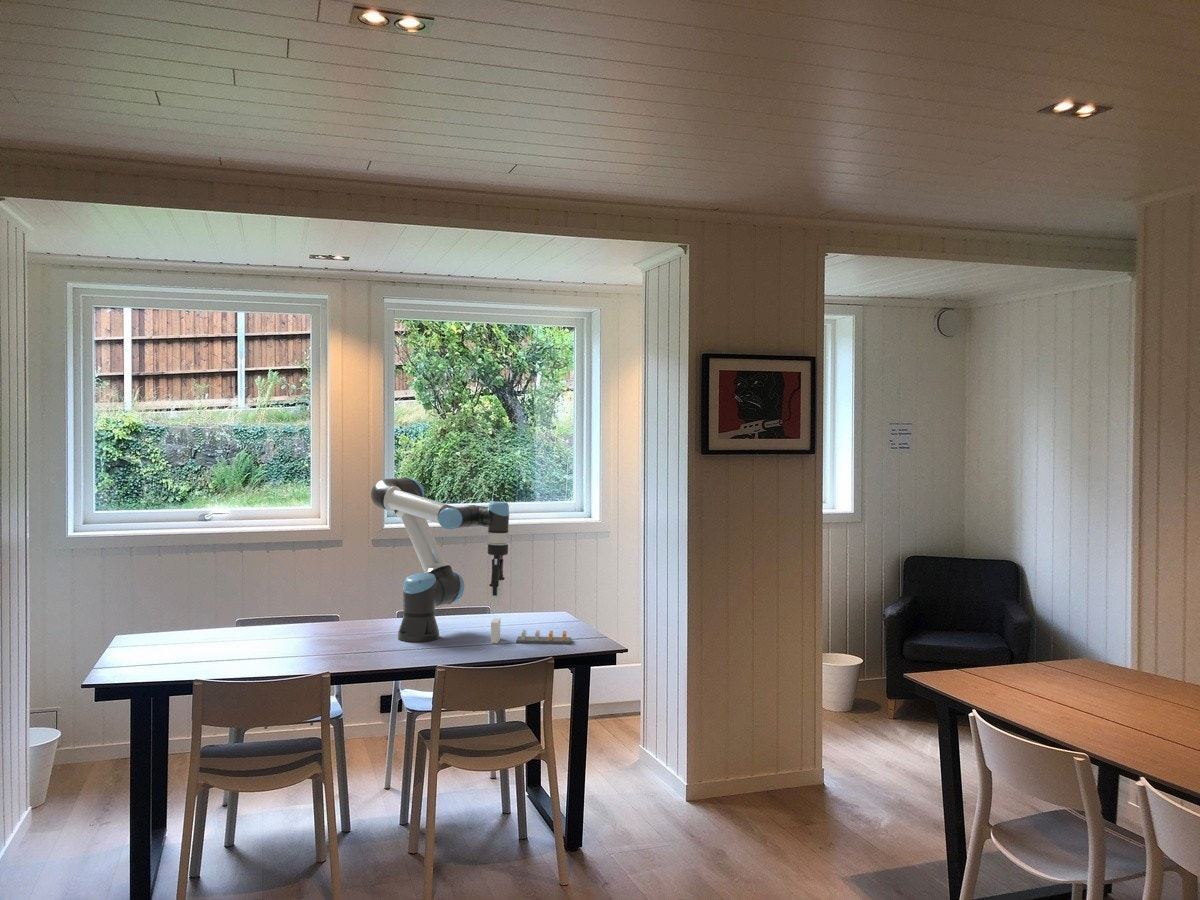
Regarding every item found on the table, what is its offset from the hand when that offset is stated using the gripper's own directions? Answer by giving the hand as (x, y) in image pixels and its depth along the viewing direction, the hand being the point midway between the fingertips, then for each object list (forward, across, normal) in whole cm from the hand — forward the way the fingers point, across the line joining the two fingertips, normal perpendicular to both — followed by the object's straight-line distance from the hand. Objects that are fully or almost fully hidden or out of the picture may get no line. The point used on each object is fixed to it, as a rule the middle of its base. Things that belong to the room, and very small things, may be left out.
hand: (496, 601), depth 348 cm
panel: (+15, 0, 0) cm, 15 cm away
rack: (+14, -1, -18) cm, 23 cm away
